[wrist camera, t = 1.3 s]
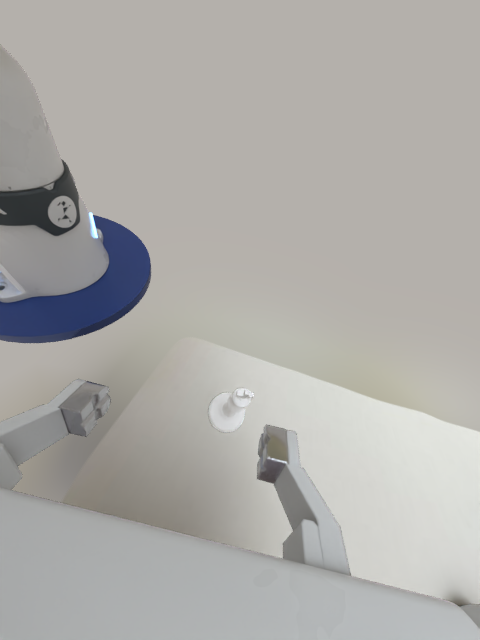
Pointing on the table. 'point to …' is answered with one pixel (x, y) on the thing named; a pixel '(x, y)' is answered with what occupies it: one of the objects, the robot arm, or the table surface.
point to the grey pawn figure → (472, 612)
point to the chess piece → (229, 409)
